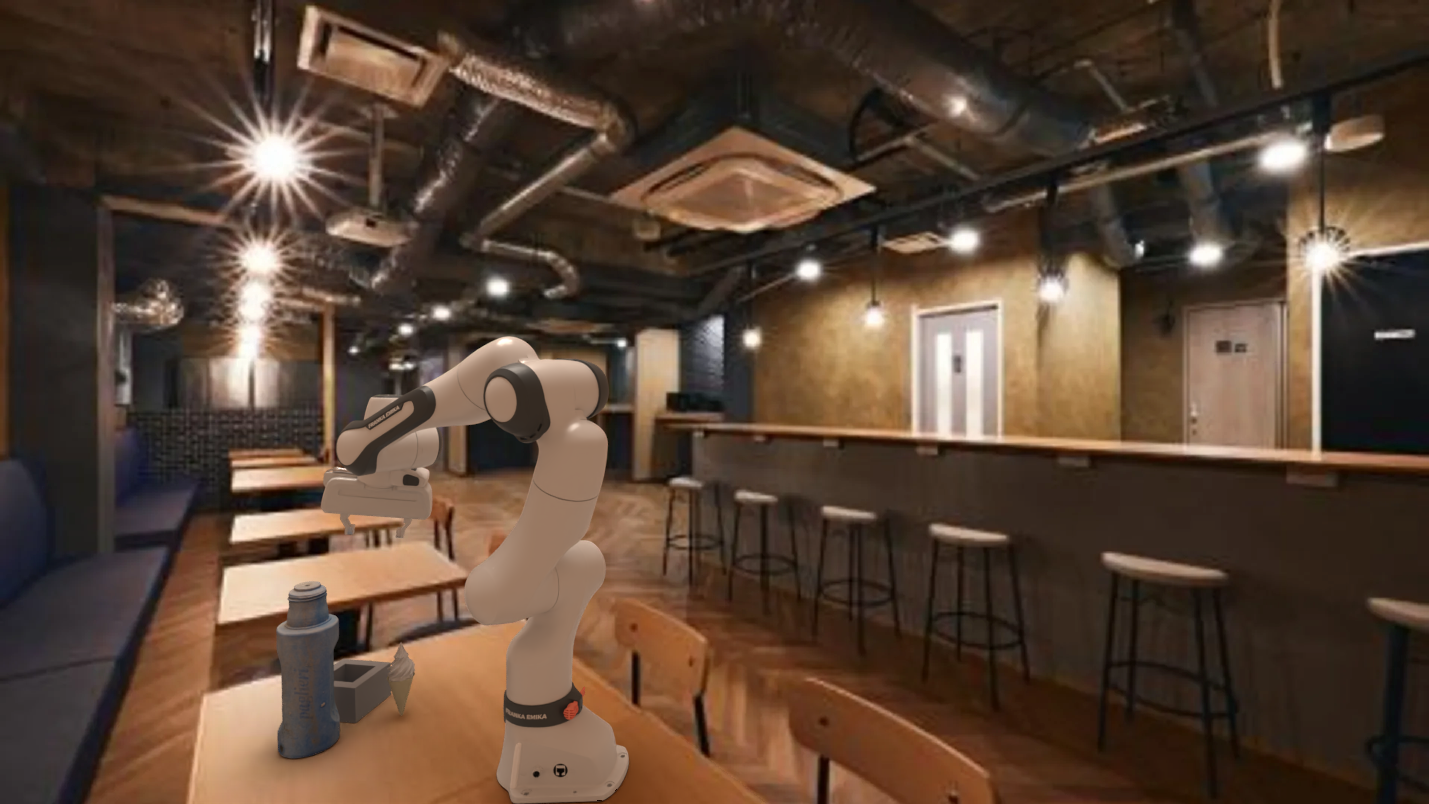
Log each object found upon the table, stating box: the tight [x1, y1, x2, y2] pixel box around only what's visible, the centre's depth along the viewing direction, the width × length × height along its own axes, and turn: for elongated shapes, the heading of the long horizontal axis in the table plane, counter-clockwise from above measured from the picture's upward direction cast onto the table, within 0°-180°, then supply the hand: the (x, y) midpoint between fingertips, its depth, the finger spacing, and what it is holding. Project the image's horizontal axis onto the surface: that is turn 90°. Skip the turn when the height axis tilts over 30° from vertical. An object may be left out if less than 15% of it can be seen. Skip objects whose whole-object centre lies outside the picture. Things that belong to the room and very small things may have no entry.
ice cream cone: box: [387, 641, 416, 717], centre depth 127 cm, size 5×5×15 cm
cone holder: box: [334, 658, 392, 724], centre depth 131 cm, size 11×11×7 cm
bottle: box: [275, 580, 341, 759], centre depth 117 cm, size 10×10×30 cm
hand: (374, 535), depth 132 cm, fingers open, 8 cm apart
